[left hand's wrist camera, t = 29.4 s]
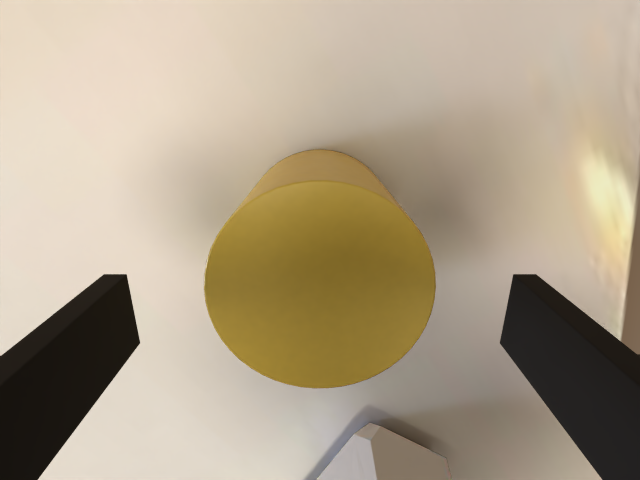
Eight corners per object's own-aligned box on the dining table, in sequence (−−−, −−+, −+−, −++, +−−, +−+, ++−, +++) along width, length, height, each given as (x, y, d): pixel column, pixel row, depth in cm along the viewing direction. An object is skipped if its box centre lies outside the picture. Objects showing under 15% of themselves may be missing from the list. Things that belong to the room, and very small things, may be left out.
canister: (389, 143, 22) (440, 170, 13) (391, 280, 25) (433, 382, 16) (239, 155, 22) (182, 190, 13) (258, 289, 25) (223, 395, 16)
